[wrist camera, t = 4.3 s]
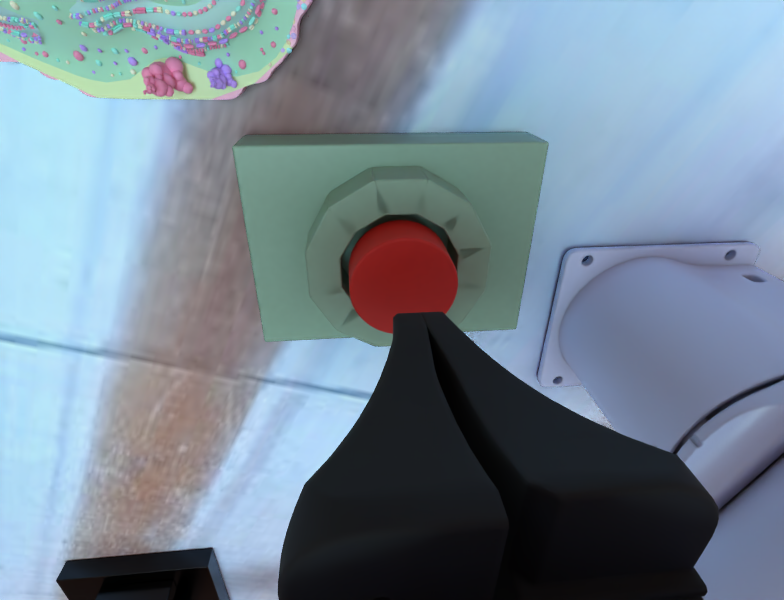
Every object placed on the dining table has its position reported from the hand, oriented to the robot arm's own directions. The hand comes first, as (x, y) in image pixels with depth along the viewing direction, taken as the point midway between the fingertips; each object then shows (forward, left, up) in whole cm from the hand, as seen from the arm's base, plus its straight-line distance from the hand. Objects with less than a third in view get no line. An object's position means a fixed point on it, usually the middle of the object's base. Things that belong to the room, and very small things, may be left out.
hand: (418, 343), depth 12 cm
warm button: (0, 0, -5) cm, 5 cm away
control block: (0, 0, -8) cm, 8 cm away
